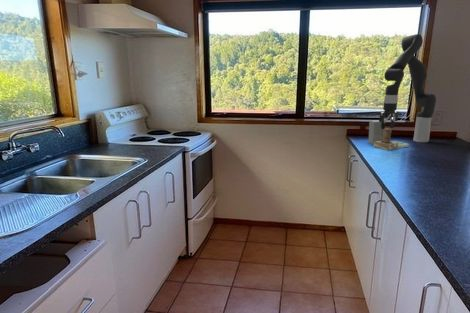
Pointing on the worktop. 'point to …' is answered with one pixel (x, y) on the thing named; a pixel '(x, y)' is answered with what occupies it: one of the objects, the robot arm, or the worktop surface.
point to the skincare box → (375, 131)
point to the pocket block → (386, 145)
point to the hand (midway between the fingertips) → (387, 128)
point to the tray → (402, 144)
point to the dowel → (386, 136)
